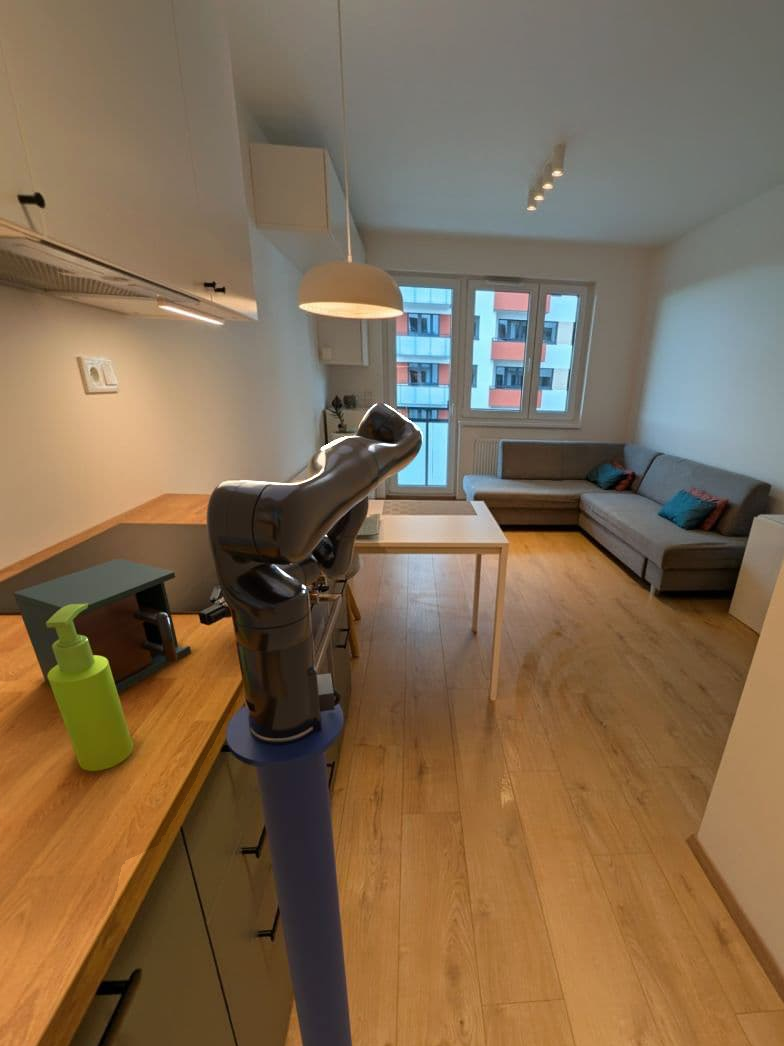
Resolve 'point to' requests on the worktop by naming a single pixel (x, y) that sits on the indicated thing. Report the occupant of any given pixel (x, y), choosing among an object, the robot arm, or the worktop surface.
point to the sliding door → (125, 636)
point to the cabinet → (98, 606)
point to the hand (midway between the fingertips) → (202, 619)
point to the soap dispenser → (87, 697)
